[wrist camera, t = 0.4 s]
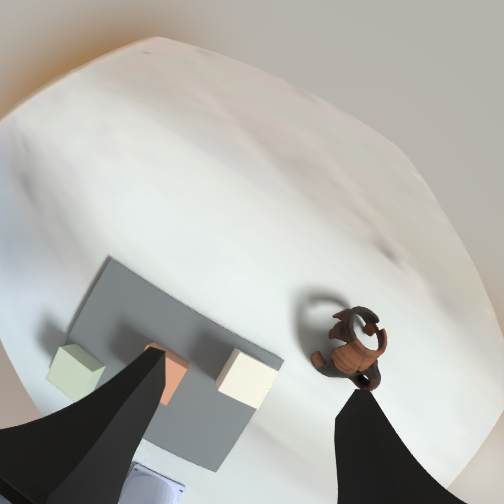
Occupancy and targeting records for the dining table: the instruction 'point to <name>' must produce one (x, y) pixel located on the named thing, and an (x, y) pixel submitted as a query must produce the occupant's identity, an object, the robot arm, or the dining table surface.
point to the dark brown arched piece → (354, 350)
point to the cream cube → (246, 378)
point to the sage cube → (75, 372)
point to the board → (181, 344)
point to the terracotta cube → (171, 372)
